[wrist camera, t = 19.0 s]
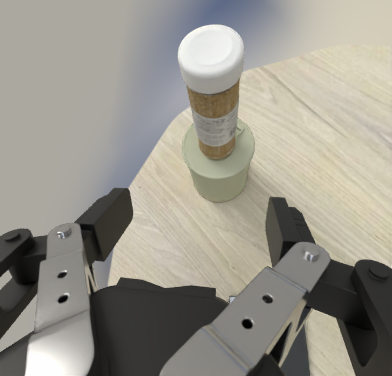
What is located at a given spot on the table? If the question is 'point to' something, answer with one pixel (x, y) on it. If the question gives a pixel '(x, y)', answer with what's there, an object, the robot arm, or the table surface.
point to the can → (219, 165)
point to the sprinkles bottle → (213, 85)
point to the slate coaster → (294, 355)
